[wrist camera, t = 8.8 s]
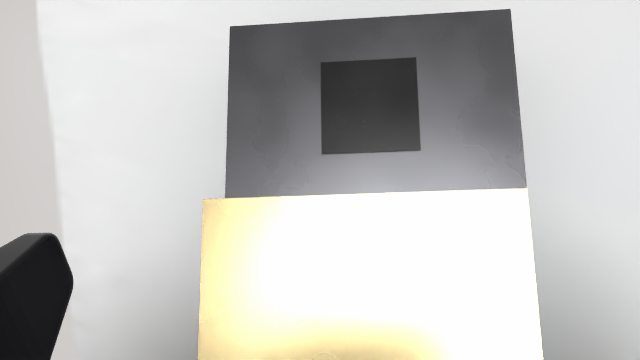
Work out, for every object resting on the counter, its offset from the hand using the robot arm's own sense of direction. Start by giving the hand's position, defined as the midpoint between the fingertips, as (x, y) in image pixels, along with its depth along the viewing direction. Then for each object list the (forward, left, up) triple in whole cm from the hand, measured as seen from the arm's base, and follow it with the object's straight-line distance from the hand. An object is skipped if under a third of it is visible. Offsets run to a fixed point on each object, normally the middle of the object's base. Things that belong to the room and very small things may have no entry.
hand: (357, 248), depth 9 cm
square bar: (-2, 0, -12) cm, 12 cm away
